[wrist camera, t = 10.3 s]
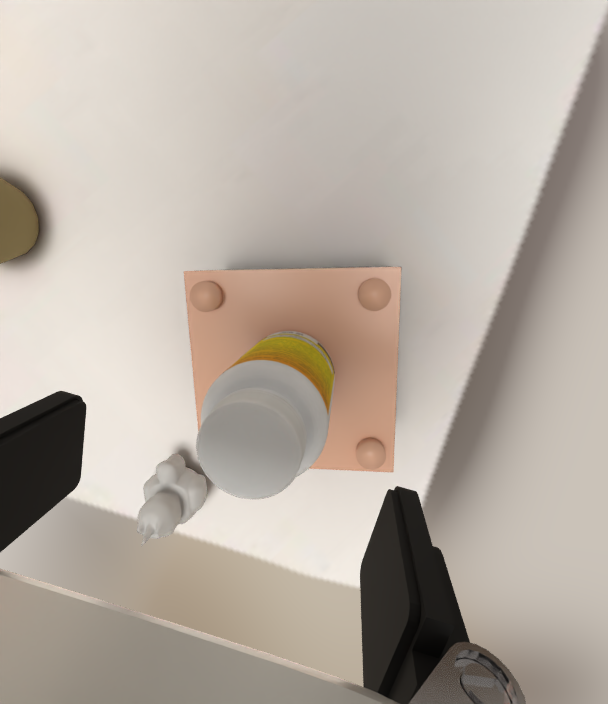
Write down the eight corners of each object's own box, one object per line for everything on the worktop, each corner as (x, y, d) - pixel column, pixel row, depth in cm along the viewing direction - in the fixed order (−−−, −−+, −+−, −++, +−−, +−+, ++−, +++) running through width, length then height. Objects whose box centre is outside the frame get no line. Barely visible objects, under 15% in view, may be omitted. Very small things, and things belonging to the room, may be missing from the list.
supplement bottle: (252, 322, 23) (177, 367, 13) (341, 336, 22) (335, 393, 12) (244, 406, 24) (171, 504, 14) (328, 420, 24) (313, 532, 14)
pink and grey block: (224, 269, 30) (177, 271, 22) (387, 266, 28) (403, 267, 20) (234, 419, 33) (196, 469, 25) (382, 423, 31) (394, 479, 23)
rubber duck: (163, 504, 36) (112, 570, 28) (154, 442, 34) (98, 494, 27) (217, 507, 35) (179, 575, 28) (210, 444, 34) (169, 497, 26)
